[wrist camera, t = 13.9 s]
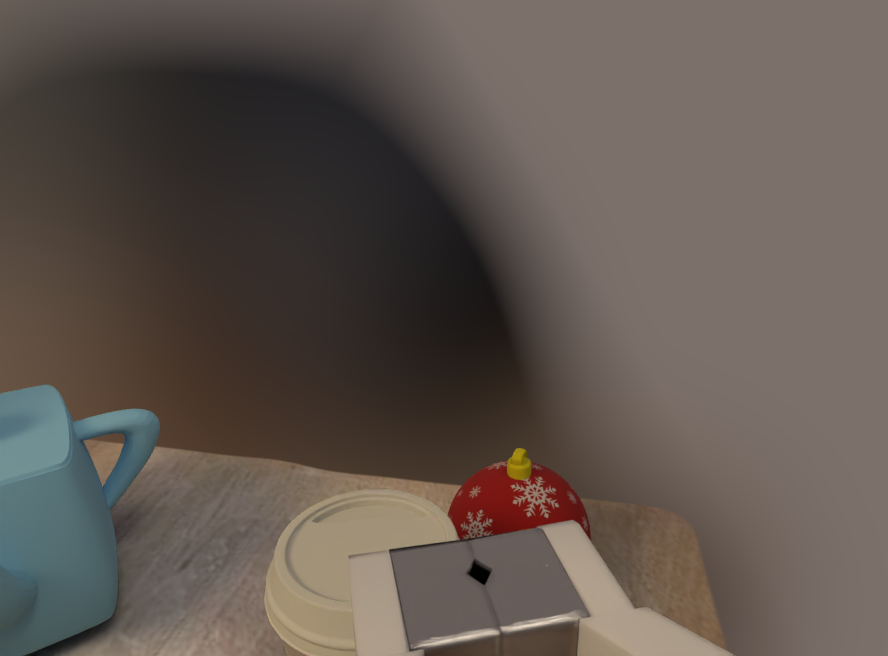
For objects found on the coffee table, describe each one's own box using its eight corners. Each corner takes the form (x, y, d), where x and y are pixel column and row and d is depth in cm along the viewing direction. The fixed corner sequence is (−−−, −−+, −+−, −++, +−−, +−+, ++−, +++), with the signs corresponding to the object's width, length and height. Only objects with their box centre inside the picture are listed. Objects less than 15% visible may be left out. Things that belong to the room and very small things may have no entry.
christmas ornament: (423, 618, 38) (418, 473, 34) (475, 531, 45) (476, 405, 42) (566, 667, 35) (577, 511, 31) (598, 564, 42) (610, 430, 38)
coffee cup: (500, 714, 32) (505, 513, 28) (411, 891, 25) (399, 658, 21) (359, 649, 36) (345, 464, 32) (248, 786, 29) (211, 572, 25)
